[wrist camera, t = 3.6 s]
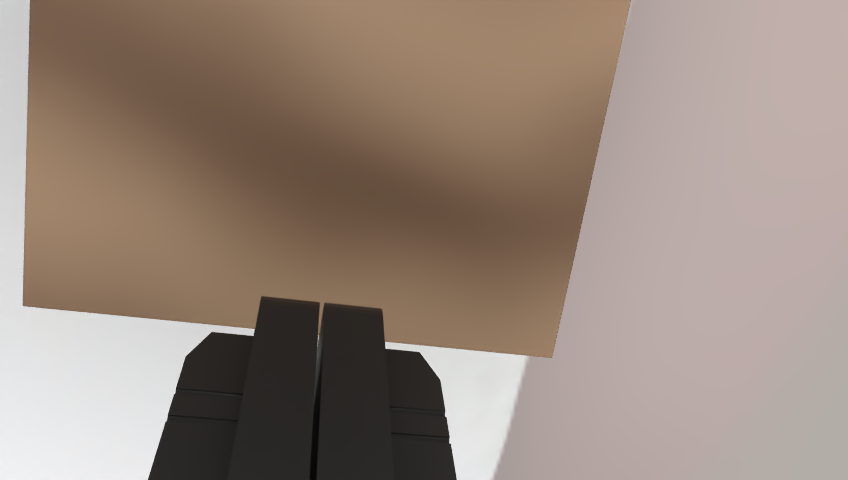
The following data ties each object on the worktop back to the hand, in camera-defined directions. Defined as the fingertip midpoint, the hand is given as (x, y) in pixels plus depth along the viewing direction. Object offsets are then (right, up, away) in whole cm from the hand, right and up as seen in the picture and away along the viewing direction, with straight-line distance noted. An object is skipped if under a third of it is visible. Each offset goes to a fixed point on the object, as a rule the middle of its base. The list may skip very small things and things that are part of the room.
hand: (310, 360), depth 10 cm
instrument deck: (0, +12, +6) cm, 13 cm away
